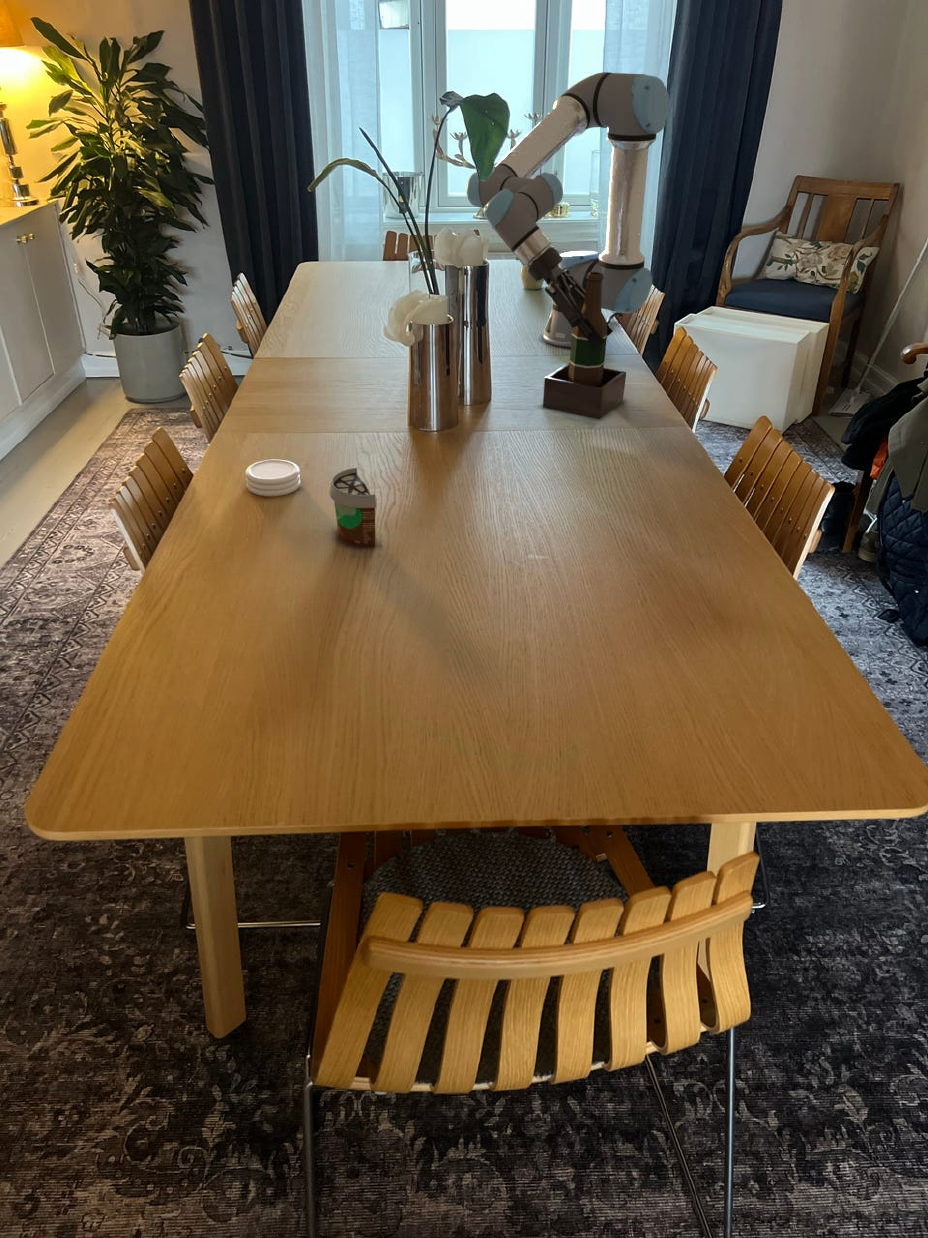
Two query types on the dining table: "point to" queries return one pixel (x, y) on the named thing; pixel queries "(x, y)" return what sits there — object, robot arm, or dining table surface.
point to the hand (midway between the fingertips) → (604, 339)
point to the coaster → (272, 478)
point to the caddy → (584, 393)
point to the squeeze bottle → (529, 279)
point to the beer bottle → (583, 356)
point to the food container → (353, 509)
